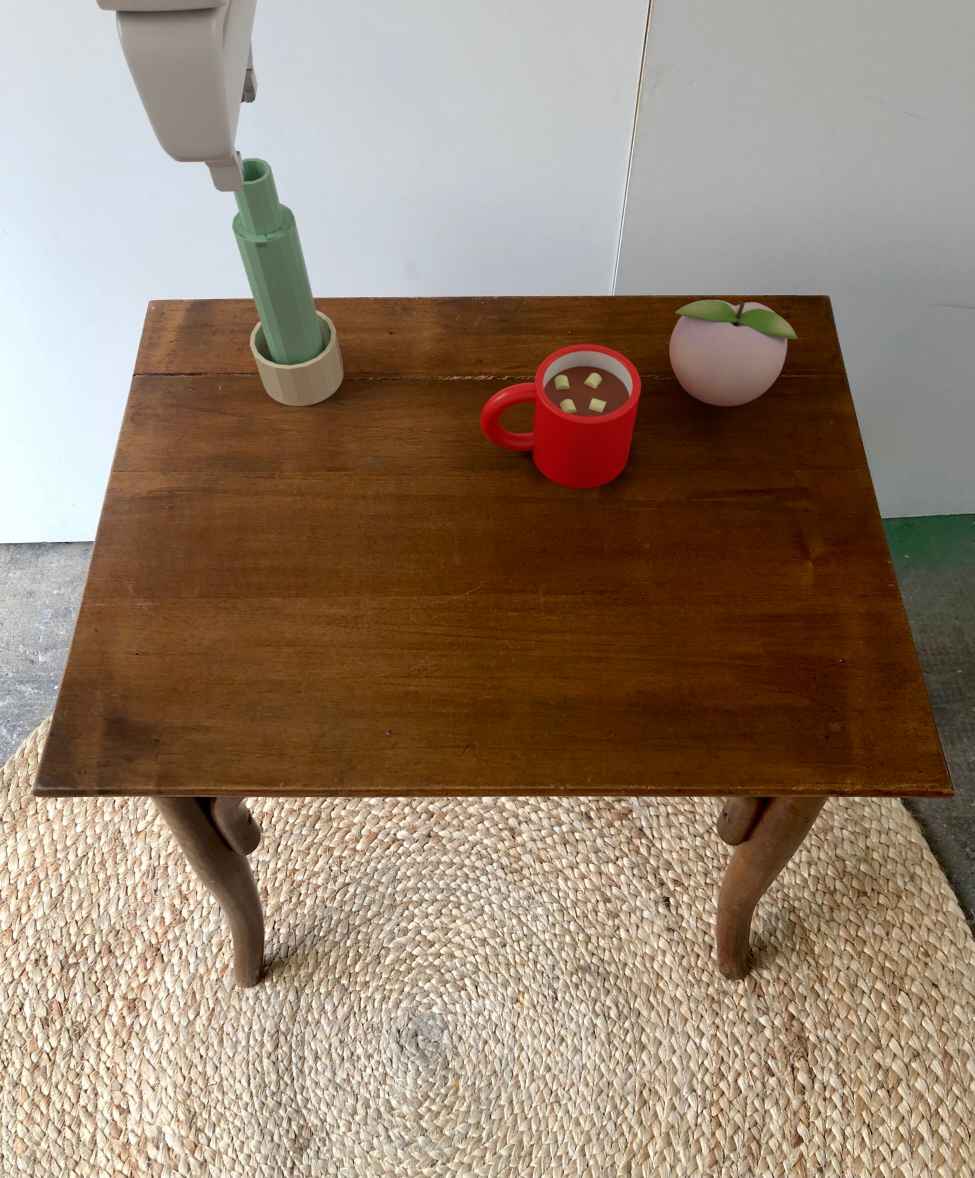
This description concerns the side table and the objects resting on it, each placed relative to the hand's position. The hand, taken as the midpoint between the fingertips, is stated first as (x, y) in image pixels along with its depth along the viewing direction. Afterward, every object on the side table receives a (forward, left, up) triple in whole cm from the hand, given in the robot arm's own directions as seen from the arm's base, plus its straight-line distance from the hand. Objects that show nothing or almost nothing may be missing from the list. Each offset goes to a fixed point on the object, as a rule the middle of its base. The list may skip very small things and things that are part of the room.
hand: (238, 138), depth 59 cm
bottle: (0, 0, -21) cm, 21 cm away
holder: (0, 0, -22) cm, 22 cm away
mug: (+21, -10, -22) cm, 32 cm away
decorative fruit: (+35, -5, -22) cm, 42 cm away
